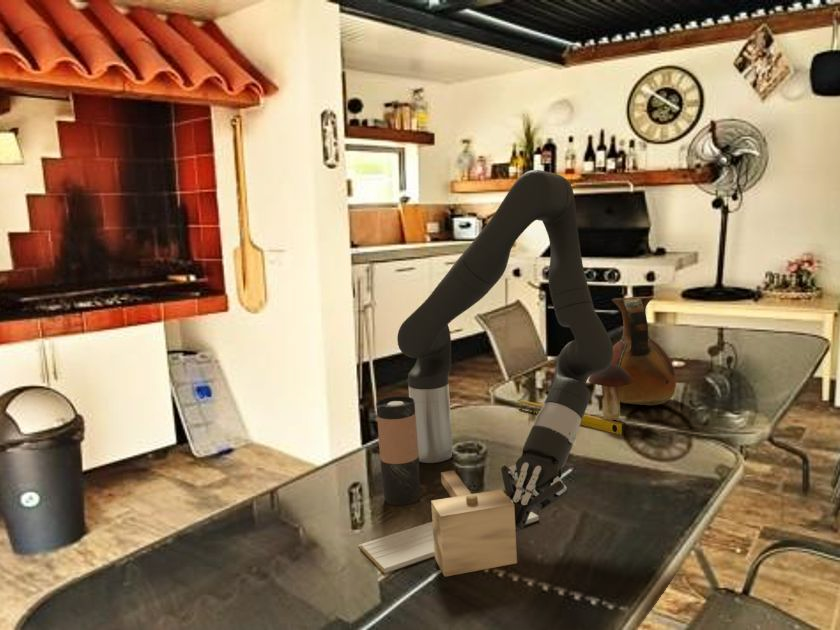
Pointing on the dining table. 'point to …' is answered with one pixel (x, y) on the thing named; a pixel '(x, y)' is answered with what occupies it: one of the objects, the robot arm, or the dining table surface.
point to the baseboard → (407, 546)
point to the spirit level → (594, 421)
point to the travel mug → (398, 450)
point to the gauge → (472, 528)
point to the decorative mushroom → (611, 389)
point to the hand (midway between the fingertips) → (513, 527)
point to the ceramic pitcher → (641, 358)
